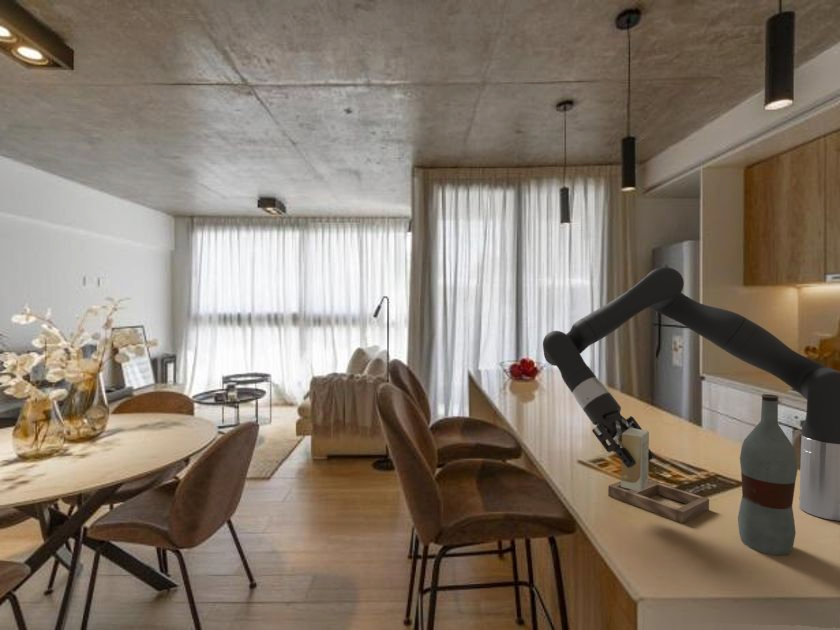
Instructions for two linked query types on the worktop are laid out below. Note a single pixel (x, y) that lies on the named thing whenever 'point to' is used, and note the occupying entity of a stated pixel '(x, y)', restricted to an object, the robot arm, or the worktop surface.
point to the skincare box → (636, 459)
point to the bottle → (768, 485)
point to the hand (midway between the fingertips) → (641, 462)
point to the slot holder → (643, 500)
